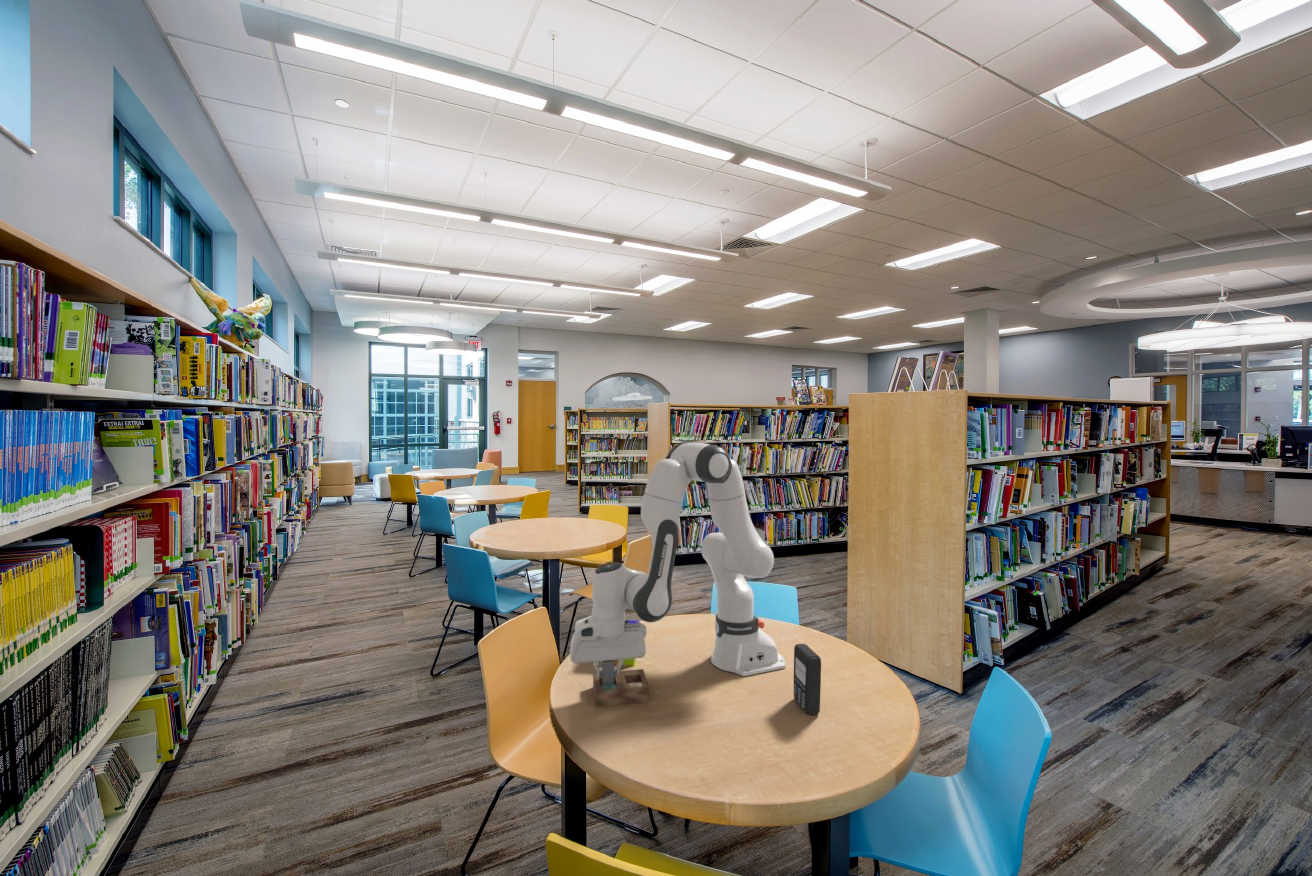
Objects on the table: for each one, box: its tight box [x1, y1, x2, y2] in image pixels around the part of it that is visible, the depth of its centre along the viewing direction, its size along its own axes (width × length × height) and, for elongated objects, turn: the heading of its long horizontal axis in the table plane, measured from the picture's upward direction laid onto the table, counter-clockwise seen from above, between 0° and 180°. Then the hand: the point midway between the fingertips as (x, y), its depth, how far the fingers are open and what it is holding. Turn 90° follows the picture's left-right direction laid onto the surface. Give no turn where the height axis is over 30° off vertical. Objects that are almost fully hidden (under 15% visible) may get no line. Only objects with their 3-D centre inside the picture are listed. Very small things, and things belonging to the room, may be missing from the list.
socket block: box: [592, 668, 651, 708], centre depth 144 cm, size 14×10×4 cm
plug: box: [601, 660, 615, 685], centre depth 143 cm, size 3×3×9 cm
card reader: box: [793, 643, 822, 716], centre depth 138 cm, size 9×4×15 cm, turn 10°
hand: (607, 675), depth 143 cm, fingers closed on plug, 3 cm apart
